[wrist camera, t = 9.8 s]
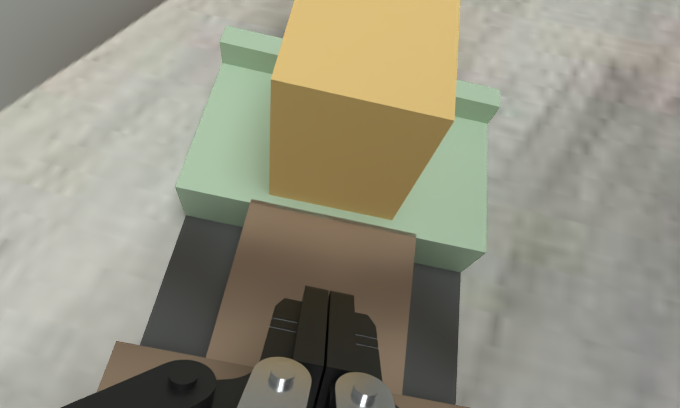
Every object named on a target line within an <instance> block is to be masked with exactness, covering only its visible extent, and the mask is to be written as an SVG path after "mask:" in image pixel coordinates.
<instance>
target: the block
mask: <svg viewBox="0 0 680 408" xmlns="http://www.w3.org/2000/svg"><path fill="white" fill-rule="evenodd" d="M459 20H460V0H294V4H293V7H292V10H291V14H290V17H289V20H288V24H287V27H286V30H285V34H284V37H283V40H282V44H281V47H280V50H279V54H278V57H277V60H276V64H275V67H274V70H273V74H272V77H271V100H270V167H269V195H273V196H278V197H283V198H287V199H292V200H297V201H302V202H307V203H311V204H316V205H321V206H326V207H330V208H335V209H340V210H345V211H350V212H354V213H359V214H364V215H369V216H373V217H378V218H383V219H388V220H393V218H394V217H395V215H396V213H397V212H398V210H399V209H400V207H401V205H402V204H403V202H404V201H405V199H406V197H407V196H408V194H409V193H410V191H411V189H412V188H413V186H414V185H415V183H416V181H417V180H418V178H419V177H420V175H421V174H422V172H423V170H424V169H425V167H426V166H427V164H428V162H429V161H430V159H431V158H432V156H433V154H434V153H435V151H436V150H437V148H438V146H439V145H440V143H441V142H442V140H443V138H444V137H445V135H446V134H447V132H448V130H449V129H450V127H451V126H452V124H453V122H454V121H455V102H456V82H457V61H458V40H459Z"/></svg>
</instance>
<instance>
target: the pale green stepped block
mask: <svg viewBox="0 0 680 408" xmlns="http://www.w3.org/2000/svg"><path fill="white" fill-rule="evenodd" d="M282 40H283V39H282V38H278V37H273V36H269V35H265V34H261V33H256V32H252V31H248V30H244V29H239V28H235V27H231V26H227V25H226V27H225V30H224V32H223V35H222V37H221V40H220V48H221V56H222V65H221V68H220V70H219V73H218V75H217V78H216V81H215V83H214V86H213V89H212V91H211V94H210V96H209V99H208V102H207V104H206V107H205V110H204V112H203V115H202V117H201V120H200V123H199V125H198V128H197V131H196V133H195V136H194V138H193V141H192V144H191V146H190V149H189V152H188V154H187V157H186V159H185V162H184V165H183V167H182V170H181V173H180V175H179V178H178V180H177V183H176V186H175V188H176V190H177V193H178V196H179V198H180V201H181V203H182V206H183V209H184V211H185V214H186V215H187V216H192V217H197V218H201V219H206V220H211V221H216V222H221V223H225V224H230V225H235V226H240V227H243V226H244V222H245V219H246V215H247V212H248V208H249V205H250V201H251V199H254V200H259V201H264V202H267V203H273V204H274V205H275V204H276V205H277V204H278V209H279V205H283V206H281V207H283V208H284V206H285V207H286V206H287V207H288V208H285V209H290V208H291V207H292V208H293V209H295V210H298V209H300V210H302V211H303V210H304V214H305V213H307V211H309V212H310V211H311V212H314V213H315V212H316V215H315V214H314V213H311V216H312V214H313V215H314V216H316V217H317V216H319V215H322V214H325V215H330V216H331V217H332V216H334V217H339V218H342V219H343V218H344V219H345V220H346V219H348V220H349V221H350V220H353V221H355V222H353V223H356V221H358V222H363V224H365V223H366V224H367V225H368V224H372V226H373V225H375V226H376V225H377V226H382V227H384V229H385V228H386V229H387V228H390V229H396V230H400V231H401V232H402V231H403V232H410V233H415V235H416V244H415V256H414V263H418V264H423V265H427V266H432V267H437V268H442V269H447V270H452V271H456V272H462V271H463V270H464V269H466V268H467V267H468V266H470V265H471V264H472V263H473V262H475V261H476V260H477V259H479V258H480V257H481V256H483V255H484V254H485V253H486V238H487V150H488V123H489V121H490V120H491V119H492V117H493V116H494V115H495V113H496V112H497V111H498V109H499V108H500V90H499V89H495V88H491V87H486V86H482V85H478V84H473V83H469V82H465V81H461V80H457V82H456V102H455V121H454V122H453V124H452V126H451V127H450V129H449V130H448V132H447V134H446V135H445V137H444V138H443V140H442V142H441V143H440V145H439V146H438V148H437V150H436V151H435V153H434V154H433V156H432V158H431V159H430V161H429V162H428V164H427V166H426V167H425V169H424V170H423V172H422V174H421V175H420V177H419V178H418V180H417V181H416V183H415V185H414V186H413V188H412V189H411V191H410V193H409V194H408V196H407V197H406V199H405V201H404V202H403V204H402V205H401V207H400V209H399V210H398V212H397V213H396V215H395V217H394V218H393V220H388V219H383V218H378V217H373V216H369V215H364V214H359V213H354V212H350V211H345V210H340V209H335V208H330V207H326V206H321V205H316V204H311V203H307V202H302V201H297V200H292V199H287V198H283V197H278V196H273V195H269V167H270V100H271V77H272V74H273V70H274V67H275V64H276V60H277V57H278V54H279V50H280V47H281V44H282ZM253 203H254V202H253ZM259 203H260V202H259ZM256 204H258V203H257V202H256ZM263 204H264V203H263ZM273 204H272V206H273ZM260 205H261V204H260ZM265 205H266V203H265ZM270 207H271V206H270ZM275 207H276V206H275ZM275 207H274V208H275ZM289 207H290V208H289ZM276 208H277V207H276ZM283 208H282V209H283ZM280 209H281V208H280ZM295 210H294V212H297V211H295ZM289 211H291V210H289ZM298 211H299V210H298ZM292 212H293V210H292ZM298 213H299V212H298ZM300 213H303V212H301V211H300ZM317 213H318V214H319V215H317ZM308 214H309V213H308ZM308 214H306V215H308ZM320 217H321V216H320ZM322 217H325V219H326V218H328V217H326V216H323V215H322ZM334 217H333V218H334ZM328 219H329V218H328ZM342 219H341V220H342ZM330 220H331V219H330ZM333 220H334V219H333ZM339 220H340V219H339ZM341 220H340V221H341ZM335 221H338V220H336V219H335ZM346 222H347V220H346ZM346 222H345V223H346ZM350 222H351V221H350ZM348 223H349V222H348ZM351 223H352V222H351ZM351 223H350V224H351ZM360 224H361V223H360ZM357 225H358V224H357ZM361 225H362V224H361ZM358 226H359V225H358ZM364 226H365V225H364ZM372 226H371V225H370V226H368V227H370V228H371V227H372ZM375 228H376V227H375ZM384 229H381V230H384ZM377 230H378V229H377ZM379 230H380V229H379ZM387 230H389V229H387ZM387 230H386V231H387ZM384 231H385V230H384ZM389 231H390V232H391V230H389ZM400 231H399V233H400ZM392 232H393V231H392ZM392 232H391V233H392ZM396 232H397V231H395V230H394V233H396ZM397 233H398V232H397ZM397 233H396V234H397ZM399 233H398V234H399ZM403 234H404V233H403ZM405 234H406V233H405ZM408 234H409V233H407V235H408ZM401 235H402V234H401ZM409 236H411V235H410V234H409ZM412 236H413V235H412ZM413 237H414V236H413Z"/></svg>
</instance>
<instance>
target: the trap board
mask: <svg viewBox="0 0 680 408" xmlns="http://www.w3.org/2000/svg"><path fill="white" fill-rule="evenodd" d="M253 202H254V203H253ZM256 202H257V203H258V204H256ZM259 202H260V203H259ZM263 203H264V204H263ZM265 203H266V205H265ZM260 204H261V205H260ZM272 204H273V203H267V202H264V201H259V200H254V199H251V201H250V205H249V208H248V212H247V215H246V219H245V222H244V226H243V227H240V226H235V225H230V224H225V223H221V222H216V221H211V220H206V219H201V218H197V217H192V216H187V215H186V217H185V220H184V223H183V225H182V228H181V231H180V234H179V237H178V240H177V242H176V245H175V248H174V251H173V254H172V256H171V259H170V262H169V265H168V268H167V270H166V273H165V276H164V279H163V282H162V285H161V287H160V290H159V293H158V296H157V299H156V301H155V304H154V307H153V310H152V313H151V315H150V318H149V321H148V324H147V327H146V329H145V332H144V335H143V338H142V341H141V344H140V345H135V344H130V343H124V342H119V341H116V343H115V346H114V349H113V351H112V354H111V356H110V359H109V362H108V364H107V367H106V370H105V372H104V375H103V377H102V380H101V383H100V385H99V388H98V391H97V392H99V391H101V390H103V389H106V388H108V387H111V386H113V385H115V384H118V383H120V382H122V381H125V380H127V379H129V378H132V377H134V376H136V375H139V374H141V373H143V372H146V371H148V370H150V369H153V368H155V367H157V366H160V365H162V364H164V363H167V362H170V361H174V360H193V361H198V362H200V363H203V364H205V365H206V366H208V367H209V368H210V369H211V370H212V371H213V373H214V374H215V377H216V380H221V379H234V378H239V377H242V376H245V375H247V374H249V373H250V372H252V370H253V368H254V366H255V365H256V364H257V363H258V362H259V361H260V358H261V355H262V351H263V348H264V344H265V340H266V337H267V333H268V330H269V326H270V323H271V319H272V315H273V312H274V308H275V306H276V305H277V304H278V303H279V302H280V301H282V300H283V299H284V298H288V299H293V300H298V301H302V297H303V293H304V289H305V285H307V286H311V287H316V288H321V289H326V290H329V292H330V290H331V291H336V292H341V293H346V294H350V295H354V306H355V312H356V313H361V314H366V315H368V316H369V317H370V318H371V320H372V321H373V323H374V324H375V326H376V331H377V340H378V349H379V356H380V365H381V373H382V382H383V383H384V384H385V385H386V386H387V387H388V388H389V390H390V391H391V393H392V396H393V400H394V404H395V405H396V406H398V407H399V408H468V407H463V406H457V405H455V403H456V377H457V352H458V326H459V300H460V274H461V272H456V271H452V270H447V269H442V268H437V267H432V266H427V265H423V264H418V263H414V256H415V244H416V235H415V233H410V232H403V231H402V232H401V231H400V230H396V229H390V228H387V229H389V230H391V232H392V231H393V232H392V233H391V232H390V231H389V230H387V229H386V228H385V229H384V227H382V226H377V225H376V226H375V225H373V226H372V224H368V225H367V224H366V223H365V224H363V222H358V221H356V223H353V222H355V221H353V220H350V221H351V222H352V223H351V222H350V221H349V220H348V219H346V220H347V222H346V220H345V219H344V218H343V219H342V218H339V217H334V216H332V217H331V216H330V215H325V214H322V215H323V216H326V217H328V218H329V219H328V218H326V219H325V217H322V215H319V214H318V213H317V215H319V216H317V217H316V216H314V215H313V214H312V216H311V213H314V212H311V211H310V212H309V211H307V213H305V214H304V210H303V211H302V210H300V209H298V210H299V211H298V210H295V209H293V208H292V207H291V208H290V207H289V208H290V209H285V208H288V207H287V206H286V207H285V206H284V208H283V207H281V206H283V205H279V209H278V204H277V205H276V204H275V205H274V204H273V206H272ZM270 206H271V207H270ZM275 206H276V207H277V208H276V207H275ZM274 207H275V208H274ZM280 208H281V209H280ZM282 208H283V209H282ZM289 210H291V211H289ZM292 210H293V212H292ZM294 210H295V211H297V212H294ZM300 211H301V212H303V213H300ZM298 212H299V213H298ZM308 213H309V214H308ZM306 214H308V215H306ZM314 214H315V215H316V212H315V213H314ZM320 216H321V217H320ZM333 217H334V218H333ZM330 219H331V220H330ZM333 219H334V220H333ZM335 219H336V220H338V221H335ZM339 219H340V220H341V219H342V220H341V221H340V220H339ZM345 222H346V223H345ZM348 222H349V223H348ZM350 223H351V224H350ZM360 223H361V224H362V225H361V224H360ZM357 224H358V225H359V226H358V225H357ZM364 225H365V226H364ZM370 225H371V226H372V227H371V228H370V227H368V226H370ZM375 227H376V228H375ZM377 229H378V230H377ZM379 229H380V230H379ZM381 229H384V230H385V231H384V230H381ZM386 230H387V231H386ZM394 230H395V231H397V232H398V233H399V231H400V233H399V234H398V233H397V232H396V233H397V234H396V233H394ZM403 233H404V234H403ZM405 233H406V234H405ZM407 233H409V234H410V235H411V236H409V234H408V235H407ZM401 234H402V235H401ZM412 235H413V236H414V237H413V236H412ZM328 296H329V295H328Z"/></svg>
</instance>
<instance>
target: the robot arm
mask: <svg viewBox="0 0 680 408" xmlns="http://www.w3.org/2000/svg"><path fill="white" fill-rule="evenodd" d="M328 295H329V296H328ZM61 408H399V407H398V406H396V405H395V404H394V400H393V396H392V393H391V391H390V390H389V388H388V387H387V386H386V385H385V384H384V383H383V382H382V373H381V365H380V356H379V349H378V340H377V331H376V326H375V324H374V323H373V321H372V320H371V318H370V317H369V316H368V315H366V314H361V313H356V312H355V306H354V295H350V294H346V293H341V292H336V291H331V290H330V292H329V290H326V289H321V288H316V287H311V286H307V285H305V289H304V293H303V297H302V301H298V300H293V299H288V298H284V299H283V300H282V301H280V302H279V303H278V304H277V305H276V306H275V308H274V312H273V315H272V319H271V323H270V326H269V330H268V333H267V337H266V340H265V344H264V348H263V351H262V355H261V358H260V361H259V362H258V363H257V364H256V365H255V366H254V368H253V370H252V372H250V373H249V374H247V375H245V376H242V377H239V378H234V379H221V380H216V377H215V374H214V373H213V371H212V370H211V369H210V368H209V367H208V366H206V365H205V364H203V363H200V362H198V361H193V360H174V361H170V362H167V363H164V364H162V365H160V366H157V367H155V368H153V369H150V370H148V371H146V372H143V373H141V374H139V375H136V376H134V377H132V378H129V379H127V380H125V381H122V382H120V383H118V384H115V385H113V386H111V387H108V388H106V389H103V390H101V391H99V392H96V393H94V394H92V395H89V396H87V397H85V398H82V399H80V400H78V401H75V402H73V403H71V404H68V405H66V406H64V407H61Z"/></svg>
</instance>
